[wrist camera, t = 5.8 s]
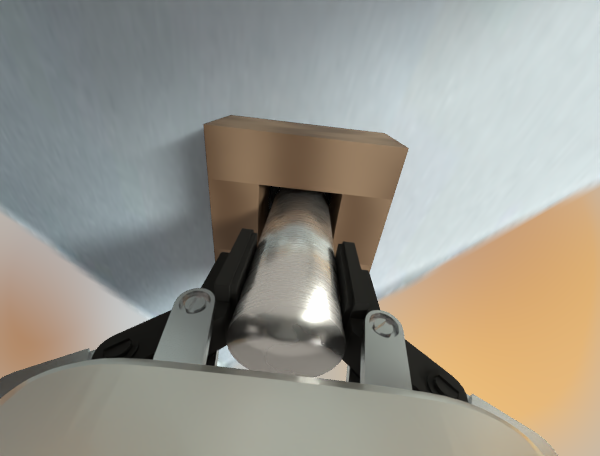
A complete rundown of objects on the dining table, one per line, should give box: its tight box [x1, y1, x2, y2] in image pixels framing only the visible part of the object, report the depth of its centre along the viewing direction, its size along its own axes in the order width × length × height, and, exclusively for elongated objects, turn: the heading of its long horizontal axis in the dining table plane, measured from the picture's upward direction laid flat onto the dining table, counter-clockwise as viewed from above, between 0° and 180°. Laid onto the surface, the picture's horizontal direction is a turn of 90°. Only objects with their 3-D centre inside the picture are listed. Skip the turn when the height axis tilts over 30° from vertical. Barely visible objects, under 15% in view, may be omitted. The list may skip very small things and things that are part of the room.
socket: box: [204, 115, 409, 272], centre depth 18 cm, size 11×11×5 cm
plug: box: [226, 187, 346, 377], centre depth 13 cm, size 4×4×11 cm
